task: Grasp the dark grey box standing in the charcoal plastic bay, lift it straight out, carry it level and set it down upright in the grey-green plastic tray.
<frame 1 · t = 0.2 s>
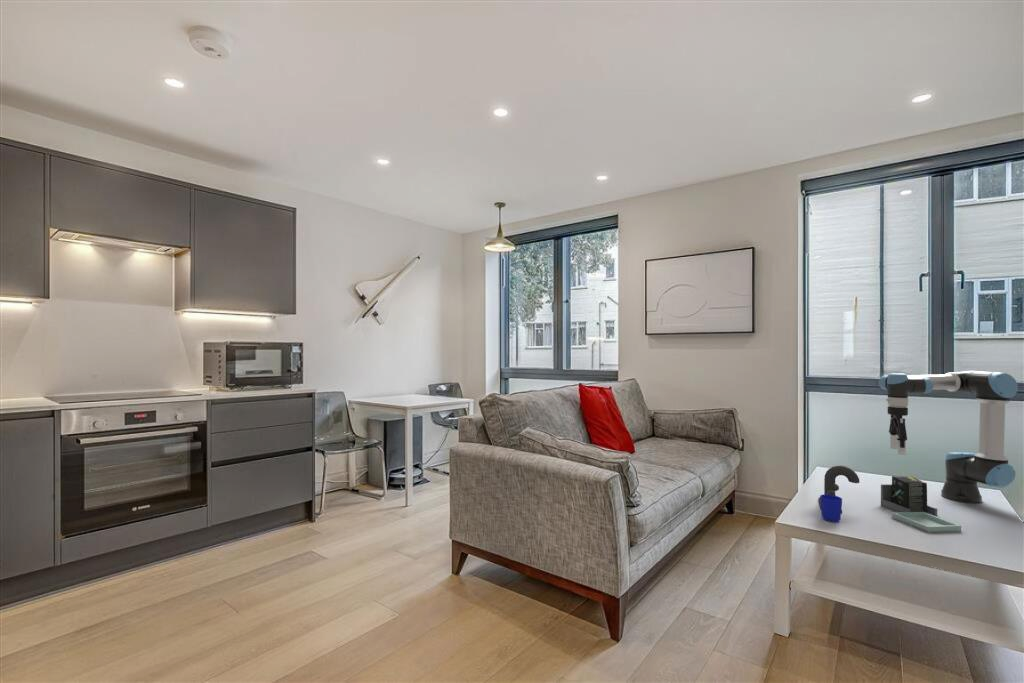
hand: (897, 451, 228), 27 cm above the table, fingers open, 13 cm apart
mug: (829, 518, 216), on the table
faucet: (839, 508, 230), on the table
tray: (925, 524, 209), on the table
bay: (909, 510, 227), on the table
dark grey box: (909, 511, 227), on the table
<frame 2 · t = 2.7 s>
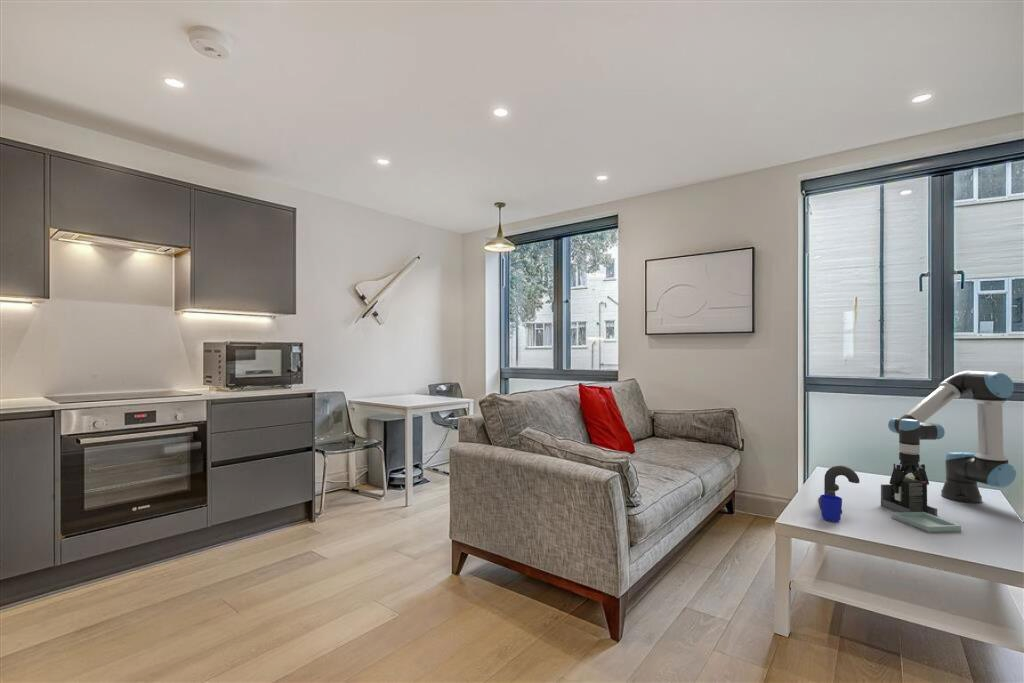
hand: (909, 500, 227), 5 cm above the table, fingers closed on dark grey box, 10 cm apart
dark grey box: (909, 511, 227), on the table, touching gripper
everything else where it was.
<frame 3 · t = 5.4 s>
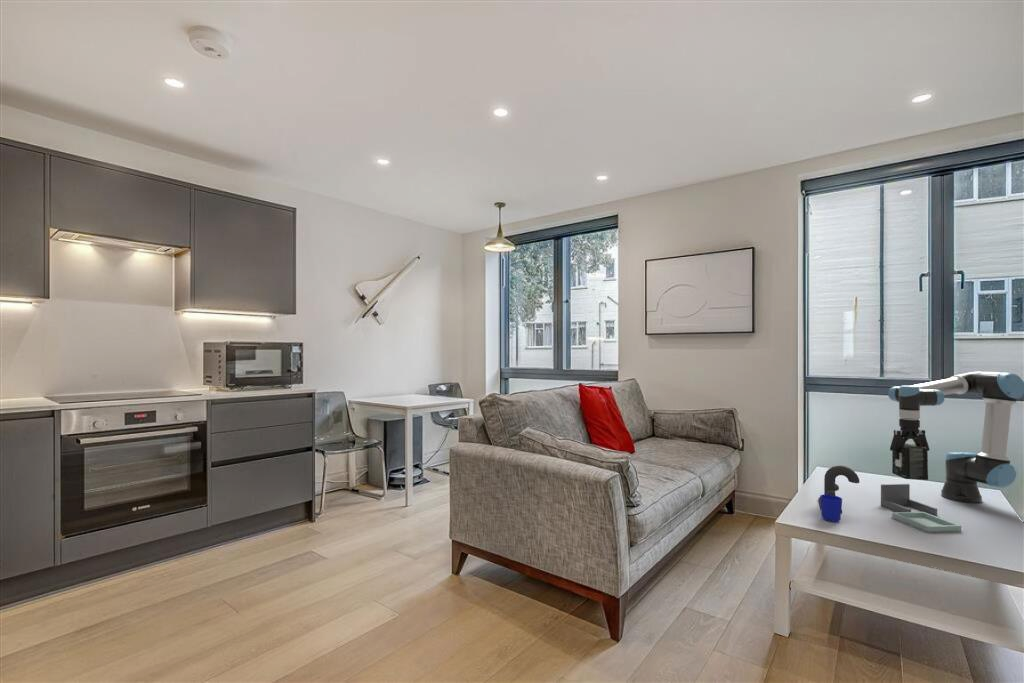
hand: (909, 466, 227), 21 cm above the table, fingers closed on dark grey box, 10 cm apart
dark grey box: (909, 477, 227), point 16 cm above the table, touching gripper
everything else where it was.
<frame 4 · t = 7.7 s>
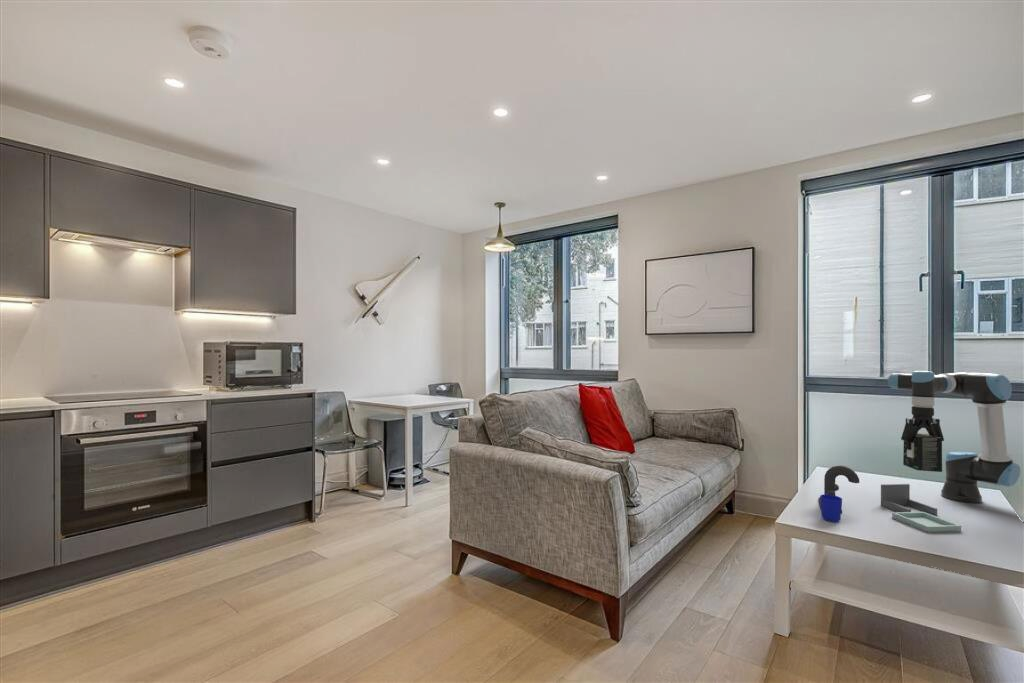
hand: (922, 457, 212), 28 cm above the table, fingers closed on dark grey box, 10 cm apart
dark grey box: (922, 468, 212), point 23 cm above the table, touching gripper
everything else where it was.
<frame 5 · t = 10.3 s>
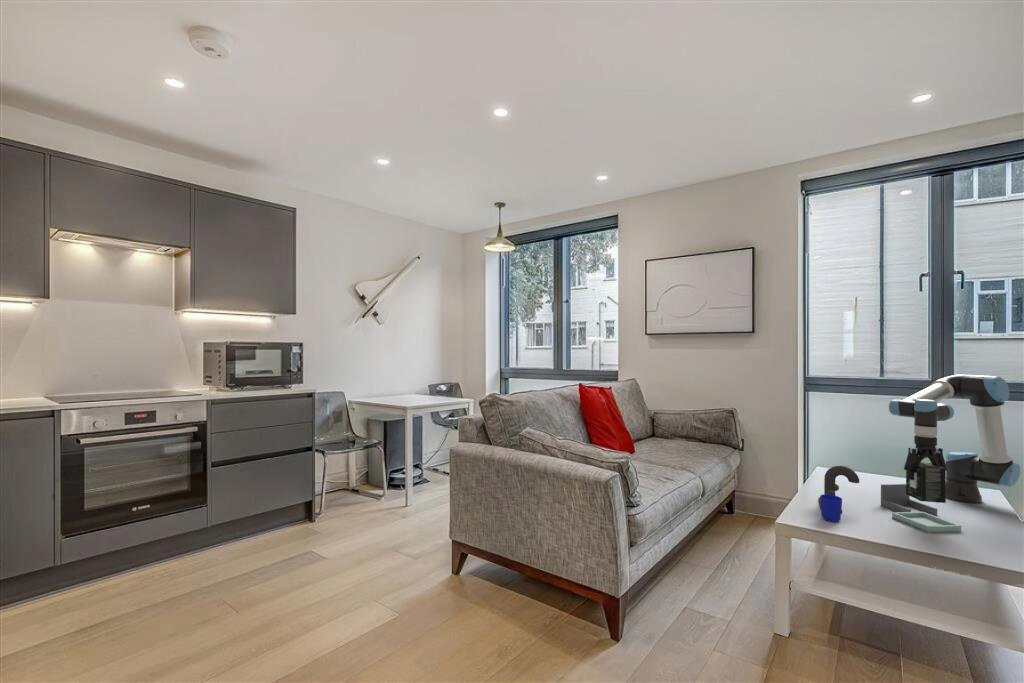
hand: (925, 487, 209), 16 cm above the table, fingers closed on dark grey box, 10 cm apart
dark grey box: (925, 499, 209), point 11 cm above the table, touching gripper
everything else where it was.
when the fingers open (7 cm above the table, at t = 12.6 s): dark grey box drops 2 cm, resting on tray.
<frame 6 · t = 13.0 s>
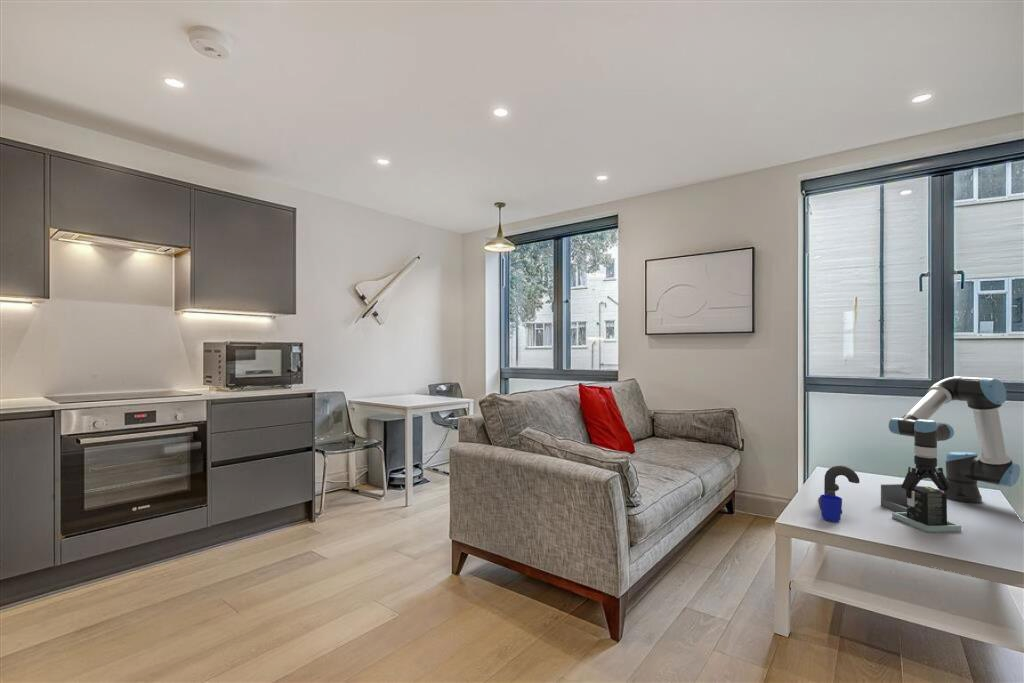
hand: (925, 505, 209), 8 cm above the table, fingers open, 13 cm apart
dark grey box: (926, 523, 209), resting on tray
everything else where it was.
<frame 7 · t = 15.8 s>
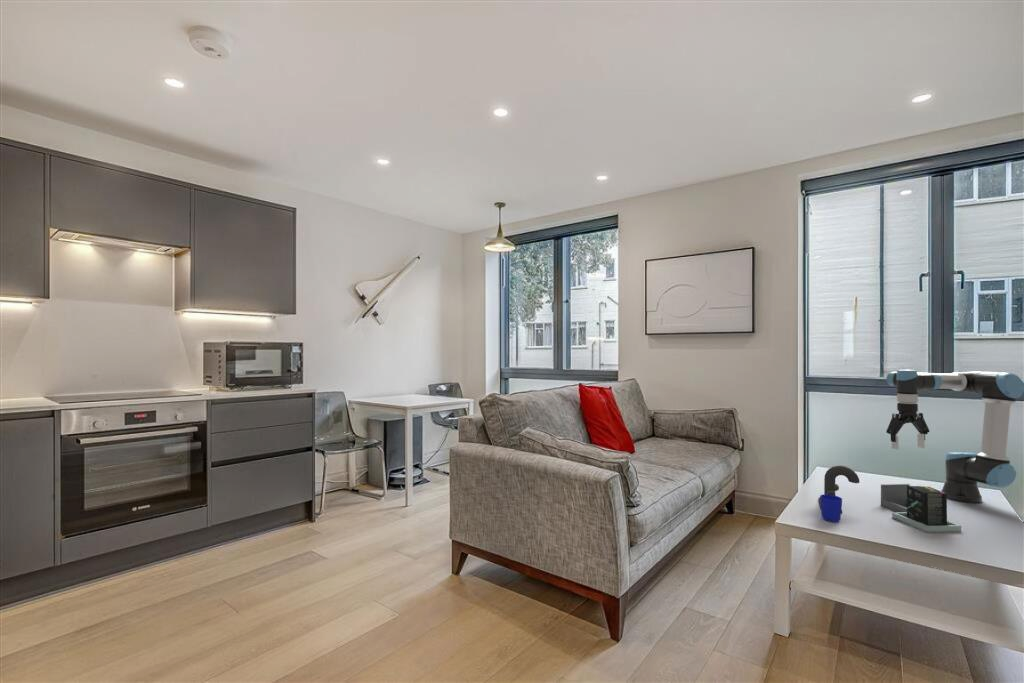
hand: (908, 448, 227), 29 cm above the table, fingers open, 13 cm apart
nothing on the table moved.
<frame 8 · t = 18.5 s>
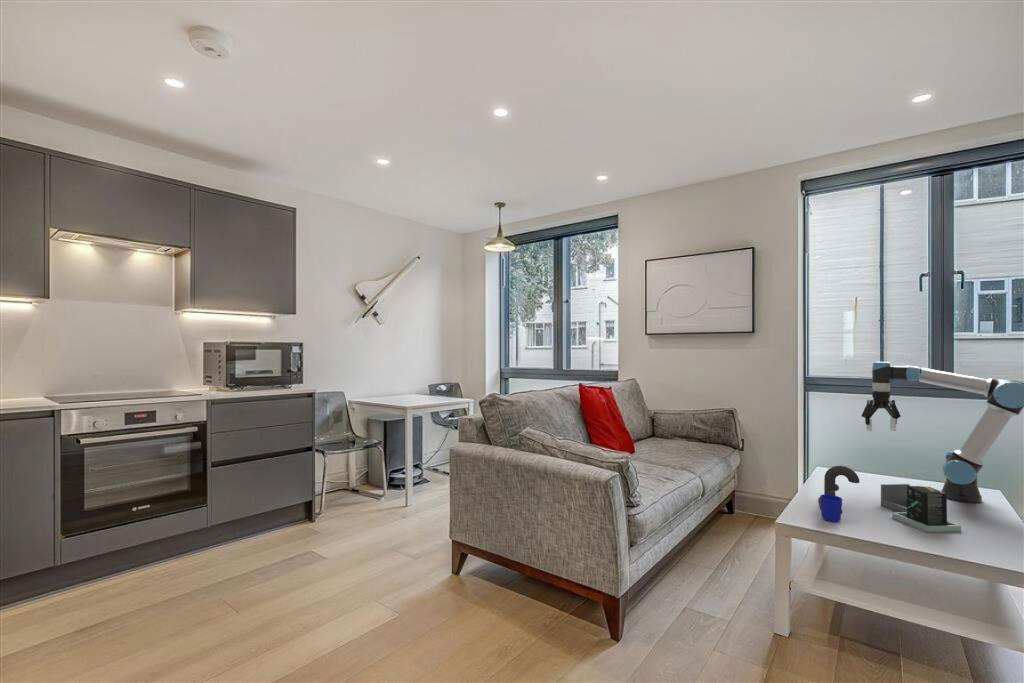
hand: (881, 430, 258), 32 cm above the table, fingers open, 13 cm apart
nothing on the table moved.
at the end: dark grey box inside the target area on the tray (0.4 cm from its centre), point 0.4 cm above the tray's base; dark grey box tilted 0°; the gripper is holding nothing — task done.
